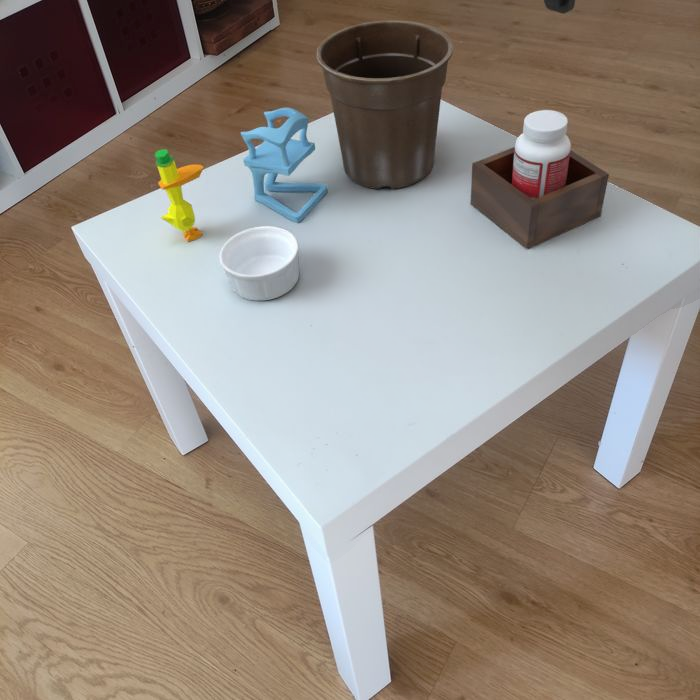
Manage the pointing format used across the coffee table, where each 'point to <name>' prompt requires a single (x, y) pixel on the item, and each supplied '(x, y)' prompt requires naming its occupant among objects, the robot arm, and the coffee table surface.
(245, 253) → the ramekin
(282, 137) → the chair
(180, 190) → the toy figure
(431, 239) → the coffee table surface
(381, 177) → the plant pot
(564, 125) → the pill bottle
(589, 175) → the holder
